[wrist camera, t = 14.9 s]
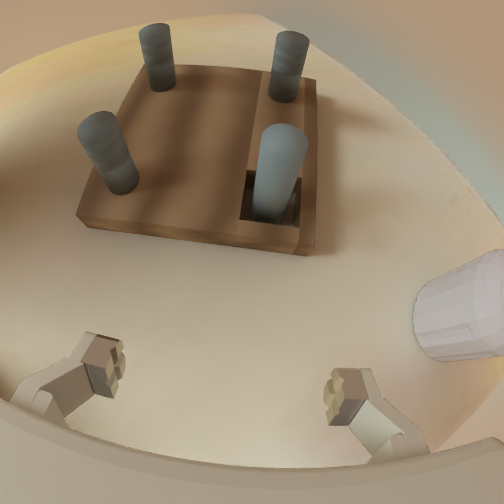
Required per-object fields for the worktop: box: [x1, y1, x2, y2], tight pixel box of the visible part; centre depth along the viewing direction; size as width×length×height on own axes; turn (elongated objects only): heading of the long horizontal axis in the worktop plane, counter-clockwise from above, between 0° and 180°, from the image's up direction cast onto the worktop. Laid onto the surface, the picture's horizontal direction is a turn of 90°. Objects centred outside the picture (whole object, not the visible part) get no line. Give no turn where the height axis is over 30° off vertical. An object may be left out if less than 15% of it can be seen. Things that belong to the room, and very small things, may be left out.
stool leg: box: [251, 123, 308, 225], centre depth 25 cm, size 3×3×11 cm
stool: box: [76, 23, 317, 256], centre depth 27 cm, size 22×22×11 cm
